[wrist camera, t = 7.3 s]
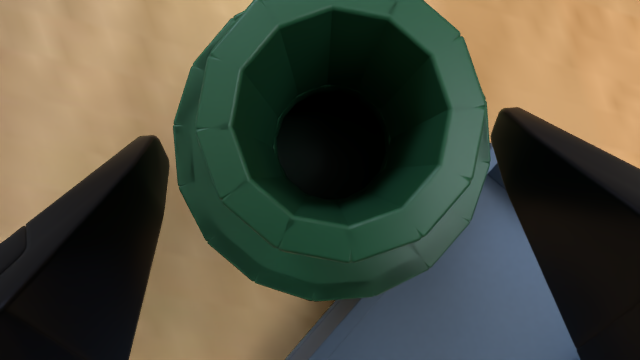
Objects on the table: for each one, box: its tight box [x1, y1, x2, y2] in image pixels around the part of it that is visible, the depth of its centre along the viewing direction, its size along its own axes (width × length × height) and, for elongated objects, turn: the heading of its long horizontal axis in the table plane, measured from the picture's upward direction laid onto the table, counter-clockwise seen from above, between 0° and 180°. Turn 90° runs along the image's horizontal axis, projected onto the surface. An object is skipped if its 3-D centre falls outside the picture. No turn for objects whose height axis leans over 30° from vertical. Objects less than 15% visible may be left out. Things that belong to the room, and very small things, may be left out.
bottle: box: [173, 0, 491, 302], centre depth 11 cm, size 7×7×13 cm
